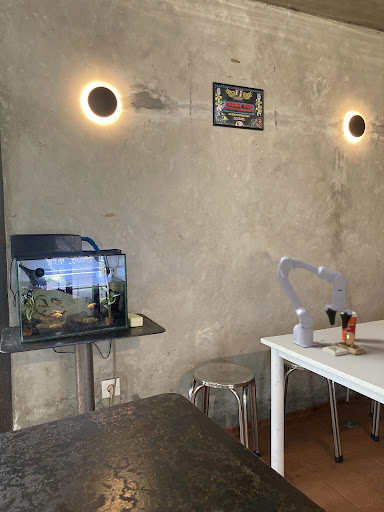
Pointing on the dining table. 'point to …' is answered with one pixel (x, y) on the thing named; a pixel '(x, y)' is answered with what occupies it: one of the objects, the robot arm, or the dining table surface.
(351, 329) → the paper cup
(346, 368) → the dining table surface
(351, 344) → the battery cell
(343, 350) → the white square frame
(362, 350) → the wooden trough
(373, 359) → the dining table surface
